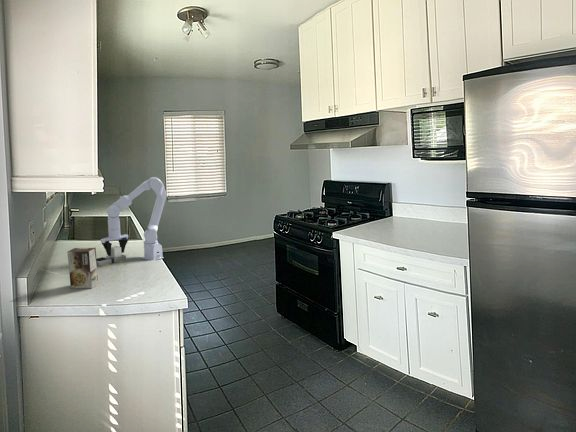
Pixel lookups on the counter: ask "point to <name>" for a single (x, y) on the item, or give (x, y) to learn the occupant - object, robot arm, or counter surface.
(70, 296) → the counter surface
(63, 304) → the counter surface
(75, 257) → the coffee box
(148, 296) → the counter surface
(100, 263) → the panel
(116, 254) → the plug
